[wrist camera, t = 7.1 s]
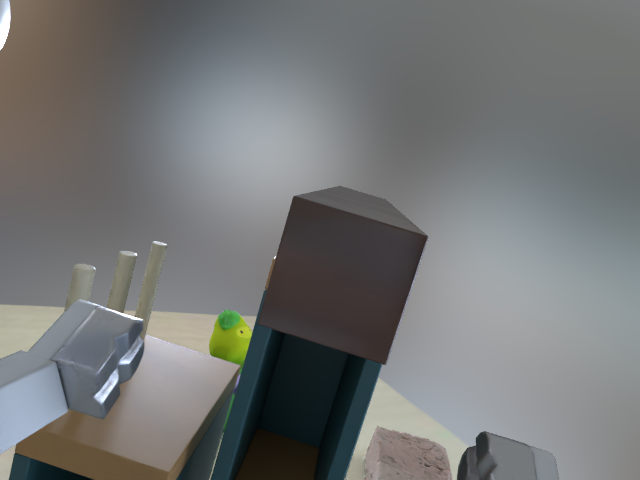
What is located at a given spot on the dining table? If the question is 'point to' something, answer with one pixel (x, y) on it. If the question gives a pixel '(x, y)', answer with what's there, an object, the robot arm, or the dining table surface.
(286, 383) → the plate rack
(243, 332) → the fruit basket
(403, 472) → the brick
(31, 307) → the dining table surface
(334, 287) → the block
